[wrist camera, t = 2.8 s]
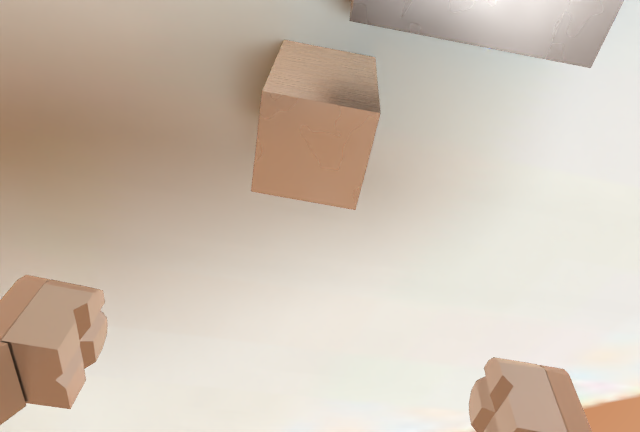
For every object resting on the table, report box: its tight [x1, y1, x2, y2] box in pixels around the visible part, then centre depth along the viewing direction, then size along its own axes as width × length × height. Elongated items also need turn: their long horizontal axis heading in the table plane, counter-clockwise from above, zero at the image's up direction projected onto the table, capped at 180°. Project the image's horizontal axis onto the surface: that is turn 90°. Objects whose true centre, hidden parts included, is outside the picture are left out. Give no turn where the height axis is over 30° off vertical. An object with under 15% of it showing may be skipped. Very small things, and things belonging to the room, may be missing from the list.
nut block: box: [251, 40, 380, 210], centre depth 20 cm, size 4×4×6 cm
